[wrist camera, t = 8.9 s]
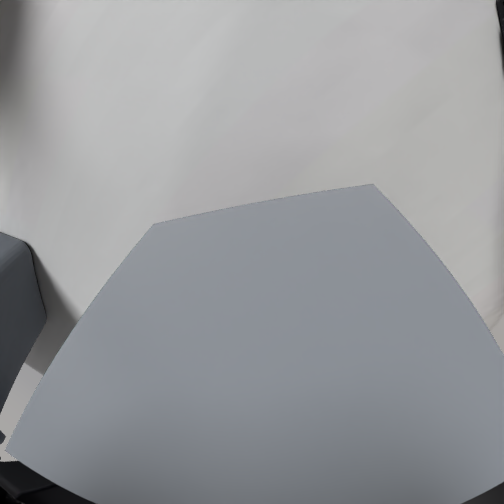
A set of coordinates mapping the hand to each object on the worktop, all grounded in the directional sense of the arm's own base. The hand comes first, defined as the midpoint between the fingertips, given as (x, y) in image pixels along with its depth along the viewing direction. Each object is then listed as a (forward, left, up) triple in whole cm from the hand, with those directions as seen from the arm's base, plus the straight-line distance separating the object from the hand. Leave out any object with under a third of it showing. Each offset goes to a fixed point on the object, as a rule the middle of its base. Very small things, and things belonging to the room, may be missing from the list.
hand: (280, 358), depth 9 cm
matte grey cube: (0, 0, -3) cm, 3 cm away
